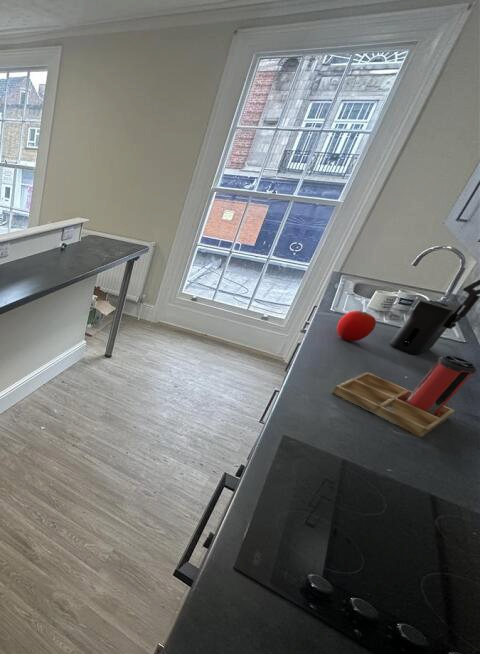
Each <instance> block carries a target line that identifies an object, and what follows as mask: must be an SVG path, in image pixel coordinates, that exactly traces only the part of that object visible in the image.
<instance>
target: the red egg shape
mask: <svg viewBox="0 0 480 654" xmlns="http://www.w3.org/2000/svg"><path fill="white" fill-rule="evenodd" d="M376 323H377V321H376V318H375V316H373V315H372V314H370V313H367V312H366V311H362V310H352V311H351V310H350V311H349V312H347V313H345V314H344V315H342V317H341V318H340V319H339V321H338V323H337V325H336V333H337V335H338V336H339V338H341V339H342V340H344V341H348V342H357V341H360V340H362V339H365V338H366V337H368V336H369V335H370V334H371V333H372V332H373V331H374V329H375V328H376Z"/></svg>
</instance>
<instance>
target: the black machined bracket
mask: <svg viewBox="0 0 480 654" xmlns="http://www.w3.org/2000/svg"><path fill="white" fill-rule="evenodd" d="M466 307H467V306H465V305H463V303H461V304H460V305H459V306H457V305H456V304H453V303H450V302H447V301H438V300H433V299H432V300H431V299H429V300H423V299H419V300H418V301H417V303H416V304H415V306H414V307H413V308H412V310H411V313H410V314H409V316H408V317H407V319H406V320H405V321H404V323H403V324H402V326H401V327H400V328H399V329H398V331H397V332H396V333H395V335H394V336H393V338H392V339H391V340H390V342H389V345H390V346H391V347H392V346H393V347H392V348H394V347H395V348H394V349H396V348H397V349H396V350H399V349H400V350H399V351H402V350H403V351H402V352H404V351H405V353H407V352H408V353H407V354H410V353H411V355H416V356H417V355H421V354H423V353H425V352H427V351H428V350H430V349H432V348H433V347H434V346H435V344H436V343H437V342H438V340H439V339H440V338H441V336H442V335H443V334H444V333H445V331H447V329H449V330H451V329H454V328H455V327H456V326H457V323H458V322H460V321H461V320H462V318H461V317H459V316H460V314H461V313H462V312H463V311H464V309H465V308H466ZM405 341H407V342H409V343H410V344H408V346H406V345H404V343H406V342H405Z"/></svg>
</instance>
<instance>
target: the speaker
mask: <svg viewBox="0 0 480 654" xmlns="http://www.w3.org/2000/svg"><path fill="white" fill-rule="evenodd" d="M476 372H477V368H476V366H475V364H474V363H472V362H470V361H468V360H466V359H464V358H460V357H457V356H452V355H444V356H440V357H438V359H437V361H436V362H435V364H434V365H433V366H432V368H430V370H429V371H428V372H427V374H426V375H425V376H424V377H423V379H421V381H420V382H419V383H418V384H417V386H416V387H415V388H414V390H413V391H412V393H411V394H410V395H409V397H408V398H407V399H405V400H404V401H403V402H406V403H408V404H410V405H412V406H414V407H417V408H419V409H421V410H423V411H425V412H427V413H430V414H432V415H434V416H436V415H437V414H438V412H439V411H440V410H441V408H442V407H443V406H446V404H447V403H448V402H449V401H450V399H452V397H453V396H454V395H455V394H456V393H457V392H458V391H459V389H461V387H462V386H463V385H464V384H465V383H466V381H467V380H469V378H470V377H472V375H473V374H475V373H476Z"/></svg>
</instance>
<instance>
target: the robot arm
mask: <svg viewBox="0 0 480 654" xmlns="http://www.w3.org/2000/svg"><path fill="white" fill-rule="evenodd" d="M479 286H480V279H478V280H476V281H474V282H473V283H470V284H469V285H467V286H466V287H463V289H462V291H463V292H466V293H467V294H468V296H467V297H466V298H465V300H464V301H463V303H462V304H463V305H465V306H467V307H466V308H465V309H464V311H463V312H462V313H461V314H460V316H459V317H461V319H463V318H465V317H466V316H467V315H468V313H470V311H471V310H472V308H474V306H475V304H476V303H477V302H478V300H479V299H480V288H479V289H475V288H477V287H479Z"/></svg>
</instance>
